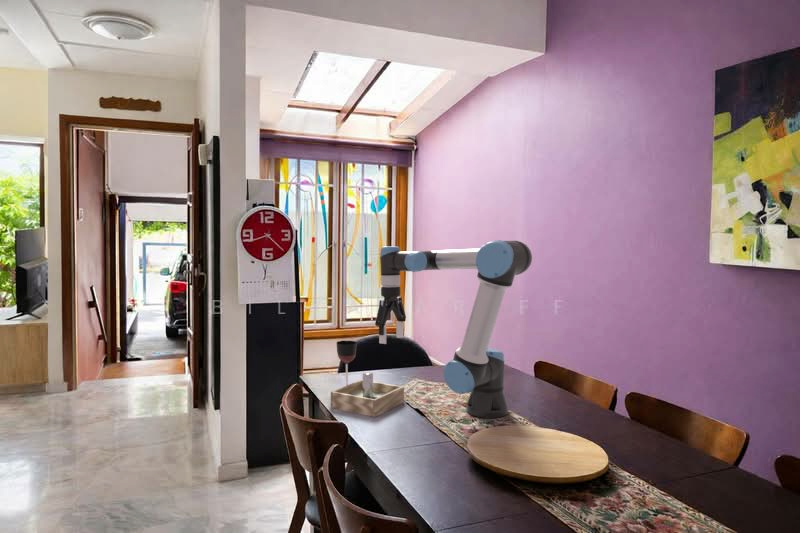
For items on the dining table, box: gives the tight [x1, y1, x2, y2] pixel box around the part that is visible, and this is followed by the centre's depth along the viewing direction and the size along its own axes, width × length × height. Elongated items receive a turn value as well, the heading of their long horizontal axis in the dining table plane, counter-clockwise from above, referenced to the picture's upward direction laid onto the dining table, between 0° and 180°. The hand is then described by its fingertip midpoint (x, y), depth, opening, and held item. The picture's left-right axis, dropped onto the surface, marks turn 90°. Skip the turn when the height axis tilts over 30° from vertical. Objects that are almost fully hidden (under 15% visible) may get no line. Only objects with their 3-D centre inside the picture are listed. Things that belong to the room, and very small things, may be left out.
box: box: [330, 379, 405, 418], centre depth 201 cm, size 20×20×6 cm
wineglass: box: [336, 340, 358, 386], centre depth 221 cm, size 8×9×20 cm
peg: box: [362, 371, 374, 399], centre depth 201 cm, size 4×4×12 cm
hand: (391, 340), depth 205 cm, fingers open, 13 cm apart
